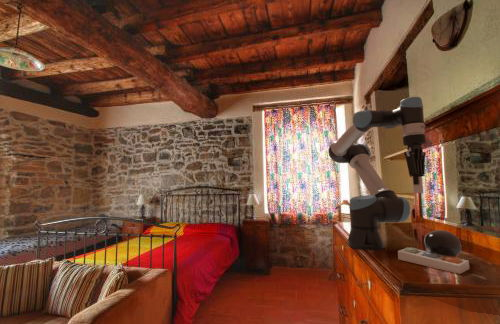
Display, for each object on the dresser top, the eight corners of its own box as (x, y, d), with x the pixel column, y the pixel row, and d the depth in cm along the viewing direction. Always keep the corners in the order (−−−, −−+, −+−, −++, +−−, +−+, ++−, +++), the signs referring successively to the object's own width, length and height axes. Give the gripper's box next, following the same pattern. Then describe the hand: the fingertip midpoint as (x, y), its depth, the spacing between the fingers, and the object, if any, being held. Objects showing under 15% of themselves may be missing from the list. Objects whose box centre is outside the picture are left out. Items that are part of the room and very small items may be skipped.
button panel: (398, 259, 86) (397, 251, 86) (408, 255, 90) (408, 247, 90) (460, 275, 71) (459, 265, 71) (469, 270, 75) (468, 260, 75)
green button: (403, 255, 86) (403, 248, 87) (408, 253, 88) (408, 246, 89) (415, 258, 83) (414, 251, 83) (420, 256, 85) (420, 249, 85)
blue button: (421, 259, 81) (421, 252, 81) (427, 257, 83) (426, 250, 83) (435, 263, 78) (434, 255, 78) (440, 260, 80) (439, 253, 80)
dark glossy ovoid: (461, 264, 84) (445, 263, 76) (428, 250, 93) (411, 248, 85) (469, 238, 84) (454, 234, 77) (435, 227, 93) (419, 222, 85)
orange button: (442, 265, 76) (441, 257, 76) (447, 262, 78) (446, 255, 78) (458, 269, 73) (457, 260, 73) (462, 266, 75) (462, 258, 75)
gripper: (416, 132, 87) (421, 194, 85) (431, 134, 94) (436, 192, 92) (395, 135, 94) (400, 193, 92) (411, 137, 100) (415, 191, 99)
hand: (418, 192), depth 92 cm, fingers closed
